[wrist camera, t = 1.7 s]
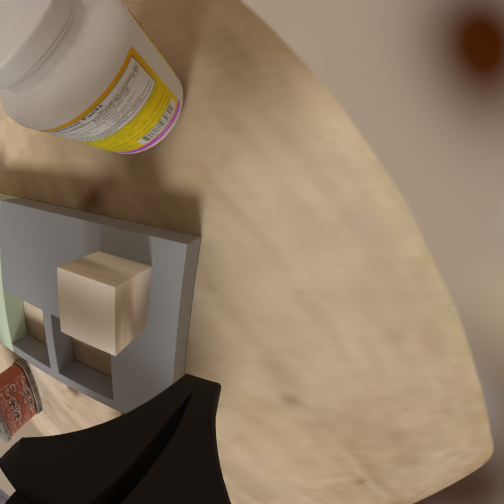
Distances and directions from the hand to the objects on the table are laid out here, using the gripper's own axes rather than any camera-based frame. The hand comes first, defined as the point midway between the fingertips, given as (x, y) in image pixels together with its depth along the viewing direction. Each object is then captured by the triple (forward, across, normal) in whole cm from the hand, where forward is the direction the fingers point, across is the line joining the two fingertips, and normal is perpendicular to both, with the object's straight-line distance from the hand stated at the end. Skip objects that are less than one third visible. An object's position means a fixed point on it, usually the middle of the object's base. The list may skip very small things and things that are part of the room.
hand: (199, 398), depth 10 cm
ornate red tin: (+10, +24, +19) cm, 32 cm away
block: (+7, +8, 0) cm, 10 cm away
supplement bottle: (+9, +9, -11) cm, 17 cm away
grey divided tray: (+10, +14, +4) cm, 18 cm away
